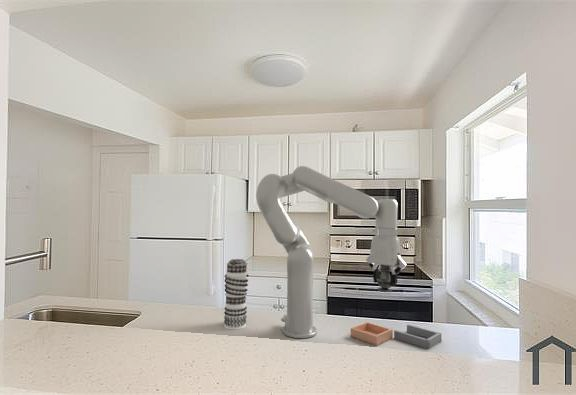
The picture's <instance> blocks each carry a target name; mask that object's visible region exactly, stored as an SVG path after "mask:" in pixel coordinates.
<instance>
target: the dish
mask: <svg viewBox="0 0 576 395" xmlns="http://www.w3.org/2000/svg"><path fill="white" fill-rule="evenodd" d="M393 337H394V330H393V329H392V328H388V327H385V326H383V325H378V324H377V323H376V324H375V323H373V322H369V321H365V322H364V323H363V322H362V323H360V324H358V325H355V326H353V327H350V338H353V339H356V340H359V341H362V342H364V343H367V344H370V345H373V346H375V347H378V346H379V345H382V344H383V343H386V342H388V341H389V340H392V339H393Z"/></svg>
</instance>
